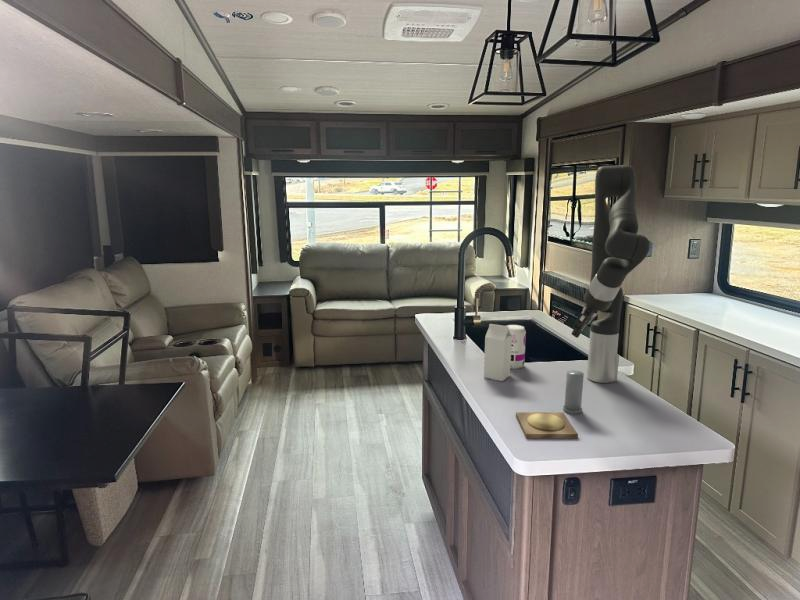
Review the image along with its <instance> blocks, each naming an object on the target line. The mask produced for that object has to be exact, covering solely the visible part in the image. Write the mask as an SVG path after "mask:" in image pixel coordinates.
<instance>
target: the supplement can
mask: <svg viewBox="0 0 800 600" xmlns="http://www.w3.org/2000/svg"><path fill="white" fill-rule="evenodd" d="M506 326H509V331H510V333H511V335H512V342H511V366H510V369H513V370H515V369H516V370H517V369H521V368H523V367H524V366H525V360H526V359H525V357H526V356H525V355H526V341H527V340H526V338H527V331H526V329H525V326H523V325H520V324H507V325H506Z"/></svg>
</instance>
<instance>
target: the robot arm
mask: <svg viewBox="0 0 800 600" xmlns="http://www.w3.org/2000/svg"><path fill="white" fill-rule="evenodd" d="M594 182H595V183H594V224H593V225H594V226H593V234H592V248H591V249H592V250H591V271H590V272H591V273H590V281H589V286H588V287H587V289H586V291H585V293H584V295H583V301H584V303H585V305H584V307H583V308H582V311H581V312H580V313H579V314H578V316H577V318H576V319H575V321H574V323H573V325H572V327H571V328H572V332H570V333H571V335H572V336H573V337H574V338H579V337H580V335H581V333H582V332H583V331H584V328H585V327H586V326H588V325H589V324H590V330H589V332H590V333H589V341H588V342H589V343H588V344H589V345H588V358H587V369H586V370H587V371H586V378H587V379H588V380H589V381H592V382H595V383H599V384H600V383H601V384H609V383H613V382H618V373H619V365H620V364H619V362H620V361H619V360H620V355H619V354H618V347H619V336H620V335H619V333H620V320H621V313H622V308H623V307H622V306H623V299H624V297H623V296H624V292H623V291H624V290H623V289H622V284H623V282H624V280H625V279H626V277H627V275H629V274H630V272H632V271H633V270H634V269H635V268H637V266H639V265H640V264H641V263H642V262H643V261H644V260H645V259H646V257H647V255H648V254H649V252H650V248H651V244H650V240H649V239H648V237H647V236H645V235H642V234H638V232H639V222H638V218H637V217H638V216H637V211H636V210H637V209H636V205H637V175H636V171H635V168H634V167H633V166H632V165H630V164H629V165H628V164H619V165H603V166H600V167H598V168H597V170H596V173H595V180H594ZM618 197H619V199H617V200H616V202H614V204H613V205H612V207H610V209H609V206H608V204H607V198H618ZM600 313H606V314H607V313H609V315H608V316H606V317H604V318H601V319H597V320H595V319H596V317H597V315H600Z"/></svg>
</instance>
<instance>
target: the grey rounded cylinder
mask: <svg viewBox="0 0 800 600" xmlns="http://www.w3.org/2000/svg"><path fill="white" fill-rule="evenodd" d="M584 374H585V373H584V372H582V371H579V370H573V369H571V370H567V371H566V382H565V393H564V395H565V396H564V405H563V408H562V411H563V413H564V412H565V413H566V414H570V415H580V414H582V413H583V407H582V402H583V401H582V398H583V388H584V377H585V375H584Z"/></svg>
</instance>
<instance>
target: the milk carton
mask: <svg viewBox="0 0 800 600" xmlns="http://www.w3.org/2000/svg"><path fill="white" fill-rule="evenodd" d="M511 342H512V335H511V333H510V331H509V326H507V325H501V324H493V323H489V324H488V329H487V331H486V334H485V337H484V358H483V359H484V365H483V366H484V367H483V378H484V379H489V378H490V379H489V380H493V381H494V380H495V381H498V382H499V381H500V382H504V381H505V380H506V379H507V378H508V377H510V375H511V368H510V366H511Z"/></svg>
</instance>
